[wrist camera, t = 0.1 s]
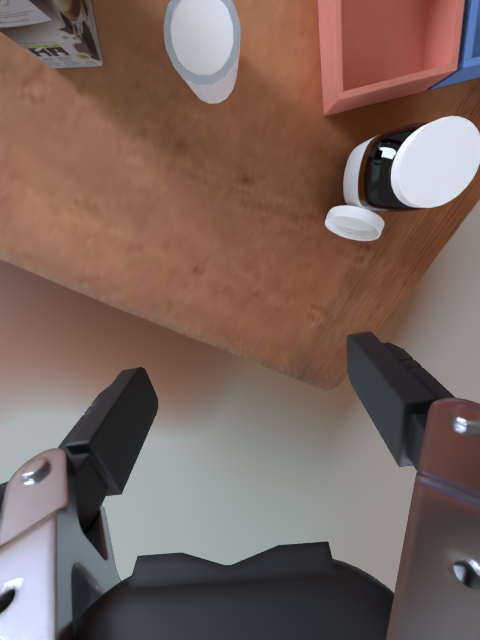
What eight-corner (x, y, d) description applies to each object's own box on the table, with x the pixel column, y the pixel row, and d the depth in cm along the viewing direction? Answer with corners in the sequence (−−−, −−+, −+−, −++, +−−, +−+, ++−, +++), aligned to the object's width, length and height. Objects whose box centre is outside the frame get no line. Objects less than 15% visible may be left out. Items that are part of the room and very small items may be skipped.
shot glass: (234, 21, 27) (231, -36, 20) (248, 101, 30) (248, 73, 23) (173, 41, 28) (151, -8, 21) (191, 117, 30) (177, 94, 24)
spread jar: (424, 138, 31) (518, 103, 20) (404, 236, 35) (472, 249, 25) (323, 146, 31) (363, 116, 21) (317, 241, 36) (347, 257, 25)
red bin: (316, -19, 25) (331, -69, 21) (434, -56, 24) (478, -117, 20) (323, 116, 30) (337, 100, 25) (423, 91, 29) (457, 69, 24)
